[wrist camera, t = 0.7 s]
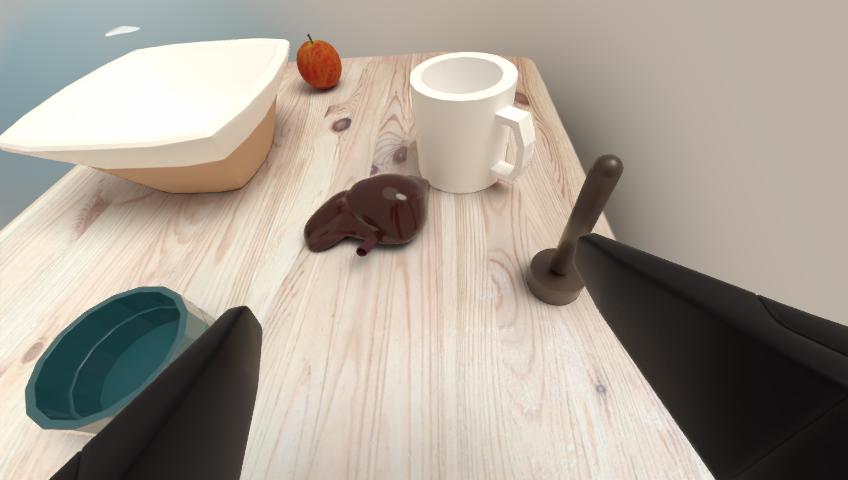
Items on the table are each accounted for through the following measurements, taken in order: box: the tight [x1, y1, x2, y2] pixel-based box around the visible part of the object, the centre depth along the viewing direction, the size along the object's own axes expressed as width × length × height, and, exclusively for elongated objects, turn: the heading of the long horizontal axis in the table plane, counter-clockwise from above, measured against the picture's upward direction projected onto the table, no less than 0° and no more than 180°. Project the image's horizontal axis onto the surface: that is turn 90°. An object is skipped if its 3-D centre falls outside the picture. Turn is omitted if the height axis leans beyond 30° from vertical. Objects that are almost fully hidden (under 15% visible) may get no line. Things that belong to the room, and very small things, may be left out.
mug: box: [410, 52, 536, 194], centre depth 33 cm, size 14×10×11 cm
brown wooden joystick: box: [527, 154, 623, 305], centre depth 22 cm, size 4×4×13 cm
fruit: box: [297, 34, 342, 89], centre depth 51 cm, size 7×7×8 cm
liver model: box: [304, 174, 430, 256], centre depth 31 cm, size 6×12×11 cm
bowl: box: [0, 39, 290, 193], centre depth 38 cm, size 24×25×11 cm
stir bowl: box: [25, 286, 215, 437], centre depth 23 cm, size 9×9×5 cm
